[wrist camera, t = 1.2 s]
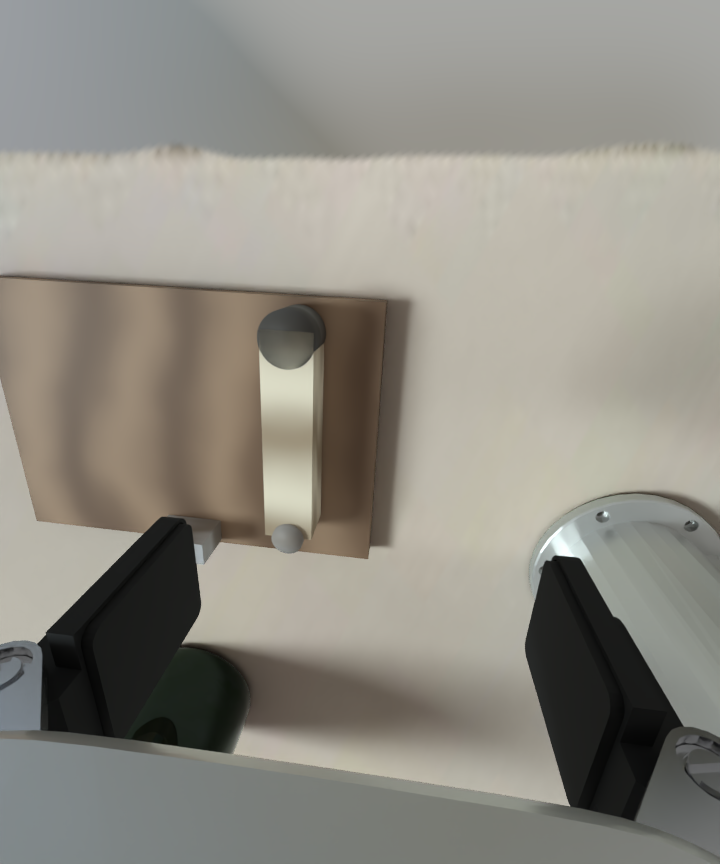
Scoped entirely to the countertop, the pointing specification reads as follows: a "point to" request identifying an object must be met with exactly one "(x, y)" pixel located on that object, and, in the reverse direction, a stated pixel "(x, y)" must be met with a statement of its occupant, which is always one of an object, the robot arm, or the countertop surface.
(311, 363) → the folding leg
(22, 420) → the brown wooden flat board
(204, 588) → the countertop surface
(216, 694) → the green wine bottle
